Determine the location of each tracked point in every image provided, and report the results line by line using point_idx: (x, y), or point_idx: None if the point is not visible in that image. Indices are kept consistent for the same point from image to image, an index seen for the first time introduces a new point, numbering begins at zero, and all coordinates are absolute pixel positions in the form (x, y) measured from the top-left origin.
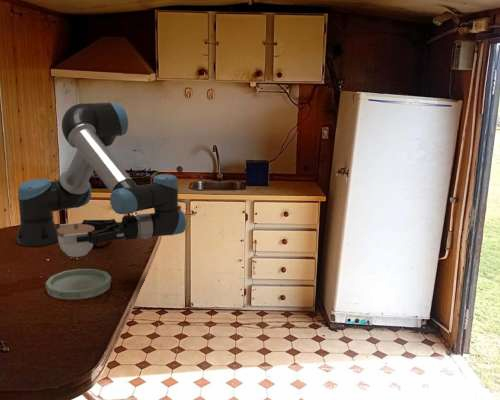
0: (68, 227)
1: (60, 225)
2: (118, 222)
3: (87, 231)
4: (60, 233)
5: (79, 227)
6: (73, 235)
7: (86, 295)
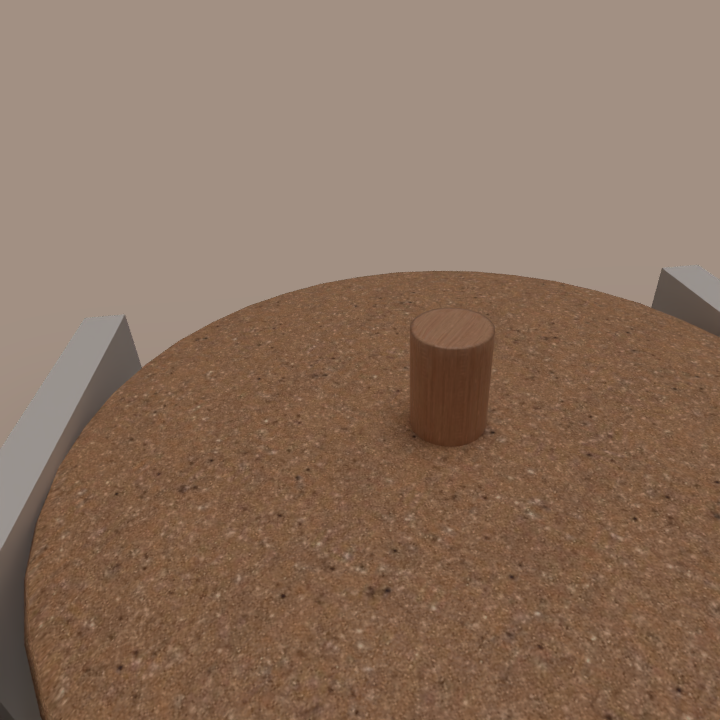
0: (529, 336)
1: (667, 276)
2: None
3: (94, 657)
4: (273, 300)
5: (518, 472)
6: (36, 410)
7: None
